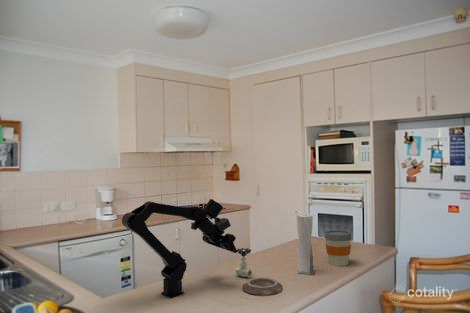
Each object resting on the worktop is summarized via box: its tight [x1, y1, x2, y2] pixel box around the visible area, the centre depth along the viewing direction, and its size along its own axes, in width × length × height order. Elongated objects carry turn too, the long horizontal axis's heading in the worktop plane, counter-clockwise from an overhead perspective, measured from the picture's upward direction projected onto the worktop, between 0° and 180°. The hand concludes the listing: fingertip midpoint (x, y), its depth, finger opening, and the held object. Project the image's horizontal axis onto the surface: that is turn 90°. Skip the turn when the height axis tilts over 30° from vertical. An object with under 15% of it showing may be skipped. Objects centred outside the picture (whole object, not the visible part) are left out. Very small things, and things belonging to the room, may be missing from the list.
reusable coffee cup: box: [324, 230, 352, 267], centre depth 186 cm, size 13×13×15 cm
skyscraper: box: [295, 210, 317, 276], centre depth 173 cm, size 8×8×28 cm
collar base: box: [241, 276, 283, 297], centre depth 152 cm, size 16×16×2 cm
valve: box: [235, 247, 253, 279], centre depth 168 cm, size 7×7×12 cm
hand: (230, 250), depth 164 cm, fingers open, 9 cm apart
